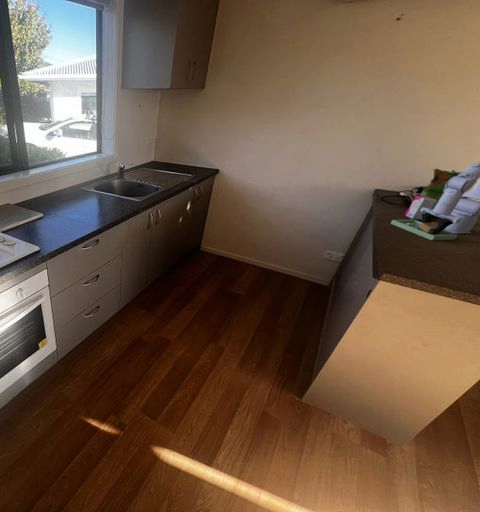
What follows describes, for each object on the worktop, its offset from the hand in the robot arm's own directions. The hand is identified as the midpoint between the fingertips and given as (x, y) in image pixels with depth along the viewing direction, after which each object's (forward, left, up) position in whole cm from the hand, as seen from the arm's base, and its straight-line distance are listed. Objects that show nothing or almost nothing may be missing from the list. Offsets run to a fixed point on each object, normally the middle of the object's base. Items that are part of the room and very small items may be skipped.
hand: (429, 231), depth 137 cm
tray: (0, -3, -1) cm, 3 cm away
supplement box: (-15, -19, -2) cm, 24 cm away
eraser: (0, 0, 0) cm, 0 cm away
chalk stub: (-1, -9, 0) cm, 9 cm away
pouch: (-26, -22, -2) cm, 34 cm away
